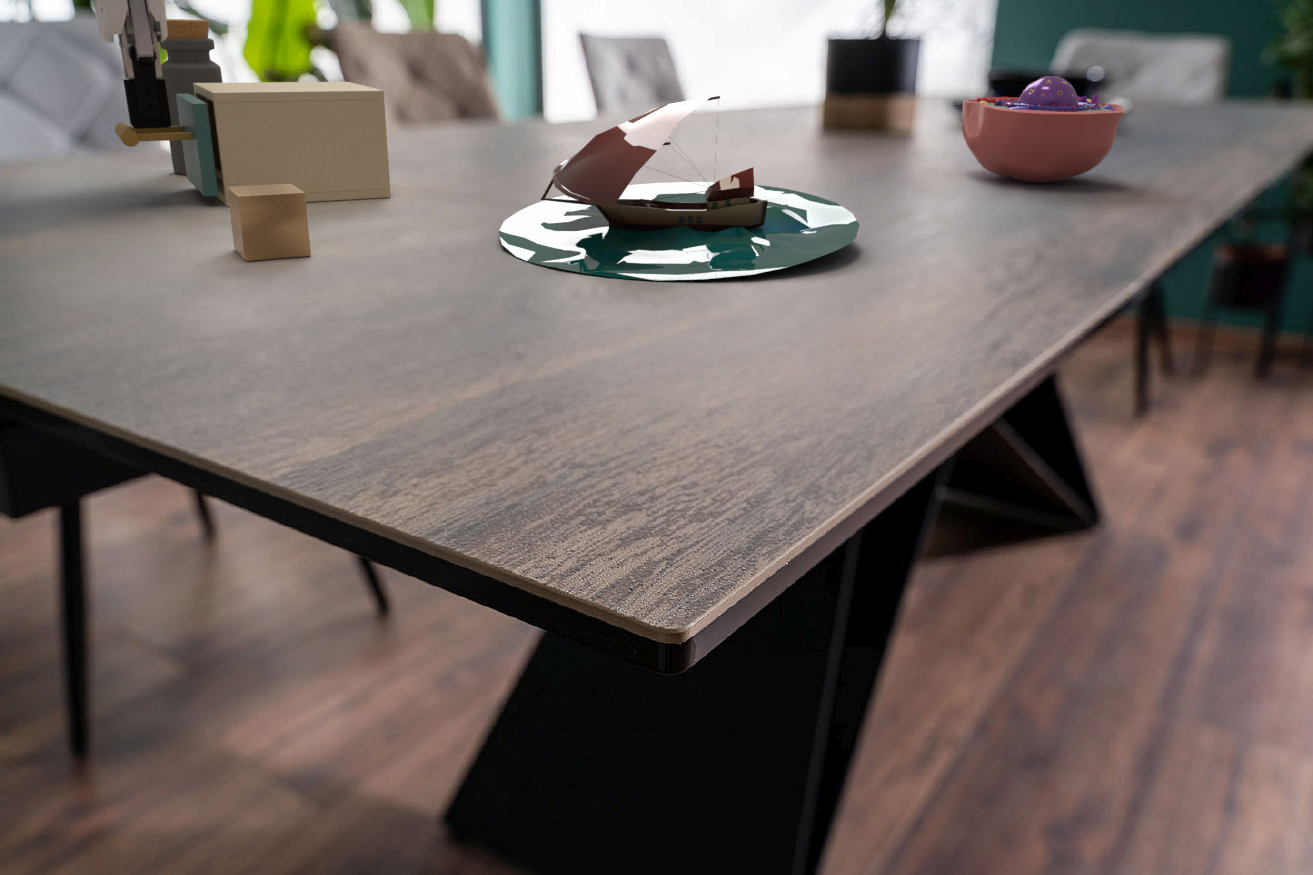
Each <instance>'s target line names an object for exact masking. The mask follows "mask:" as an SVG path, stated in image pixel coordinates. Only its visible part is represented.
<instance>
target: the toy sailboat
mask: <svg viewBox="0 0 1313 875" xmlns="http://www.w3.org/2000/svg"><path fill="white" fill-rule="evenodd" d="M720 99H721V95H717V96H706V97H700V98H693V99H689V100H683V101H677V102H672V103H667V104H664V105H661V106H658V107H654V108H652V109H649V110H647V111H646V112H644V113H642V114H640V115H638V116H636V117H634V118H631V119H629V120H627V121H625V122H622V123H620V124H618V125H615V126H613V127H611V128H609V129H607V130H605V131H603V132H600V133H597V134H596V135H594V136H593V137H592V139H591V140H589V141H588V142H587V143H586V144H585V146H583V147H582V148H581V149H579V151H577V152H576V153H575V154H574V155H572V156H571V157H569V158H568V159H565V160H564V161H562V162H561V163H560V164H559V165H557V166H556V167H555V168H554V169H553V172H552V178H551V180H550V182H549V184H548V186H547V187H546V189H545V191H544V192H543V195H542V196H541V197H540V201H539V202H536V203H534V204H531V205H528V206H527V207H525V208H524V207H523V209H520V210H518V211H517V212H515V213H513V214H512V215H511V216H510V217H508V218H506V219H505V220H503V223H502V224H501V227H500V228H499V231H498V236H499V238H500V242H501V245H502V246H503V247H504V248H505V249H506V250H508V251H509V252H510V253H511V254H512V255H513V256H515V257H516V258H519V259H521V260H524V261H526V262H529V263H532V264H536V265H540V266H545V267H549V268H555V269H559V270H564V271H570V272H576V273H579V274H580V273H581V274H587V275H593V276H600V277H606V278H614V279H615V278H616V279H628V280H629V279H630V280H643V281H694V280H710V279H722V278H732V277H742V276H752V275H757V274H762V273H766V272H772V271H777V270H781V269H785V268H791V267H794V266H796V265H797V266H798V265H800V264H804V263H807V262H810V261H813V260H815V259H818V258H821V257H823V256H826V255H830V254H831V253H834V252H836V251H839V250H841V249H842V248H844V247H846V246H848V245H850V244H851V243H852V242H853V241H854V240H855V239H857V235H858V232H859V230H860V229H859V228H860V223H859V222H858V220H857V218H856V216H855V215H854V213H853V212H851V211H849V210H848V209H847V208H845V207H844V206H842V205H841V204H839V203H838V202H835V201H832V200H829V199H826V198H824V197H820V196H817V195H814V194H810V193H807V192H803V191H798V190H793V189H788V188H782V187H777V186H771V185H770V186H769V185H761V184H759V185H758V184H755V174H754V173H755V172H754V167H753V166H751V167H750V168H747V169H745V170H742V171H739V172H736V173H734V174H731V175H728V176H726V177H723V178H721V179H719V180H717V181H713V182H712V181H707V180H706V178H705V177H703V180H704V181H689V180H687V179H683V178H681V177H678V176H676V175H673V174H669V173H666V172H664V171H661V170H657V169H655V168H651V167H650V166H649V167H648V166H645V165H646V164H647V162H648V161H649V160H650V159H651V158H653V156H654V155H655V154H656V152H658V151H659V149H660V148H661V147H662V146H670V147H671V148H672V149H673V150H674V151H675V152H676V153H677V154H678V155H679V156H680V157H681V158H682V159H683V161H686V159H685V158H684V157H683V156H682V155H680V153H679V152H678V151H676V149H675V148H674V147H673V146H672V145H671V144H672V143H671V141H667V140H668V139H669V138H670V139H671V140H673V139H672V137H670V135H671V134H672V133H673V131H674V129H675V128H676V127H677V125H678V124H679V123H680V122H681V121H682V120H684V119H685V118H686V117H687V116H689V115H690V114H691V113H693V111H695V110H696V109H698V108H699V107H700V106H701V105H703V104H704V103H705V102H707V101H714V100H718V103H717V105H719V102H720ZM718 119H719V116H717V120H716V121H717V122H716V124H718V121H719V120H718ZM717 136H718V135H716V138H715V142H716V143H717V142H718V141H717V139H718V137H717ZM674 144H675V145H676V146H678V145H677V143H676V142H674ZM679 150H680V151H681V152H683V151H682V149H681V148H679ZM714 155H715V157H714V162H716V159H717V158H716V157H717V154H714ZM684 156H685V157H686V158H688V157H687V156H686V154H684ZM689 161H690V162H691V163H692V161H691V160H689ZM643 167H645V168H649V169H651V170H655V171H656V172H660V173H664V174H666V175H668V176H671V177H675V178H678V179H681V180H684V181H678V182H677V181H676V182H652V183H640V184H639V183H638V184H630V183H631V182H632V181H633V179H634V178H635V176H636V175H637V173H638V172H639V171H640V170H641V169H642V168H643ZM693 167H695V169H697V167H696V166H695V165H693ZM699 173H700V174H699ZM698 174H699V175H702V173H701V172H700V171H698ZM713 175H714V176H713V177H714V179H713V180H715V179H716V178H715V176H716V173H714V174H713ZM553 185H554V188H555V189H557V190H558V191H559V192H561V193H562V194H563V195H560V196H555V197H552V198H550V197H547V196H548V194H549V192H550V190H551V188H552V187H553Z"/></svg>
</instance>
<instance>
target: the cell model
mask: <svg viewBox="0 0 1313 875" xmlns="http://www.w3.org/2000/svg"><path fill="white" fill-rule="evenodd" d="M1099 98H1100V95H1099V94H1095V95H1093V96H1092V97H1091V99H1090V98H1088V97H1087V96H1080V95H1078V94H1077V92H1076V90H1075V88H1074V86H1073V85H1072V84H1071V83H1070V82H1069V81H1067V80H1066V79H1065V78H1063V77H1061V76H1056V75H1054V76H1053V75H1052V76H1051V75H1046V76H1042V77H1039V78H1038V79H1037V80H1035V81H1032V82H1030V83H1028V85H1026V86H1025V88H1024V89H1023V91H1022V93H1021V94H1020V96H1019V97H1017V96H1016V97H1014V96H1013V97H1012V96H1011V97H1009V96H998V97H997V96H995V97H994V96H992V97H991V96H990V97H989V96H988V97H985V96H983V97H982V96H981V97H976V98H973V99H969V98H968V99H963V101H962V112H961V121H960V122H961V123H960V124H961V134H962V136H963V139H964V142H965V144H966V146H967V148H968V149H969V151H970V152H971V153H972V155H973V157H975V160H976V161H977V162H978V163H979V165H980V166H981V167H982V168H983V169H985V170H986V171H988V172H990V173H991V174H994V175H997V176H1001V177H1005V178H1006V177H1007V178H1014V179H1017V180H1020V181H1022V182H1027V183H1034V184H1038V183H1053V182H1060V181H1063V180H1066V179H1070V178H1075V177H1078V176H1080V175H1082V174H1085V173H1087V172H1089V171H1091V170H1093V169H1094V168H1096V167H1097V166H1099V164H1100V163H1102V162H1103V161H1104V160H1105V158H1106V157H1107V156H1108V155H1109V154H1110V152H1111V151H1112V148H1113V146H1114V144H1115V139H1116V134H1117V130H1118V128H1119V125H1120V124H1121V121H1122V119H1123V118H1124V116H1125V115H1126V113H1127V112H1126V109H1125V107H1124V106H1123V105H1120V104H1115V103H1099Z"/></svg>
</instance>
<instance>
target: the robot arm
mask: <svg viewBox="0 0 1313 875" xmlns="http://www.w3.org/2000/svg"><path fill="white" fill-rule="evenodd" d="M93 4H94V11H95V17H96V24H97V31H98V32H97V33H98V36H99V37H100V38H101V39H102V40H104V41H106V42H107V43H110V44H111V43H112V44H113V43H114V42H115V36H114V35H117V38H118V46H119V50H120V55H121V62H122V66H123V72H124V79H123V86H124V94H125V99H126V106H127V112H128V116H129V117H128V118H129V123H130V124H129V125H130V126H131V127H134V128H136V129H142V128H168V127H170V126H171V117H170V110H169V104H168V97H167V90H166V83H165V80H164V79H163V77H162V69H161V64H162V63H161V62H162V61H161V55H160V44H159V43H160V42H163V41H164V40H165V39H166V38H167V35H168V33H167V19H168V18H167V9H166V0H93Z"/></svg>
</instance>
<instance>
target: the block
mask: <svg viewBox="0 0 1313 875" xmlns="http://www.w3.org/2000/svg"><path fill="white" fill-rule="evenodd" d="M227 192H228V200H229V207H228V208H229V215H230V223H231V224H230V225H231V231H232V238H233V239H232V241H233V248H234V251H236V253H238V256H240V257H241V258H242V259H243V260H244V261H245V262H254V261H256V262H257V261H266V260H279V259H290V258H305V257H311V256H312V251H311V241H310V240H311V239H310V231H309V221H308V220H309V219H308V211H307V202H306V198H305V192H303V191H302V190H300V189H299V188H297V187H296V186H294V185H293V184H272V185H252V186H232V187H227Z"/></svg>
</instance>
